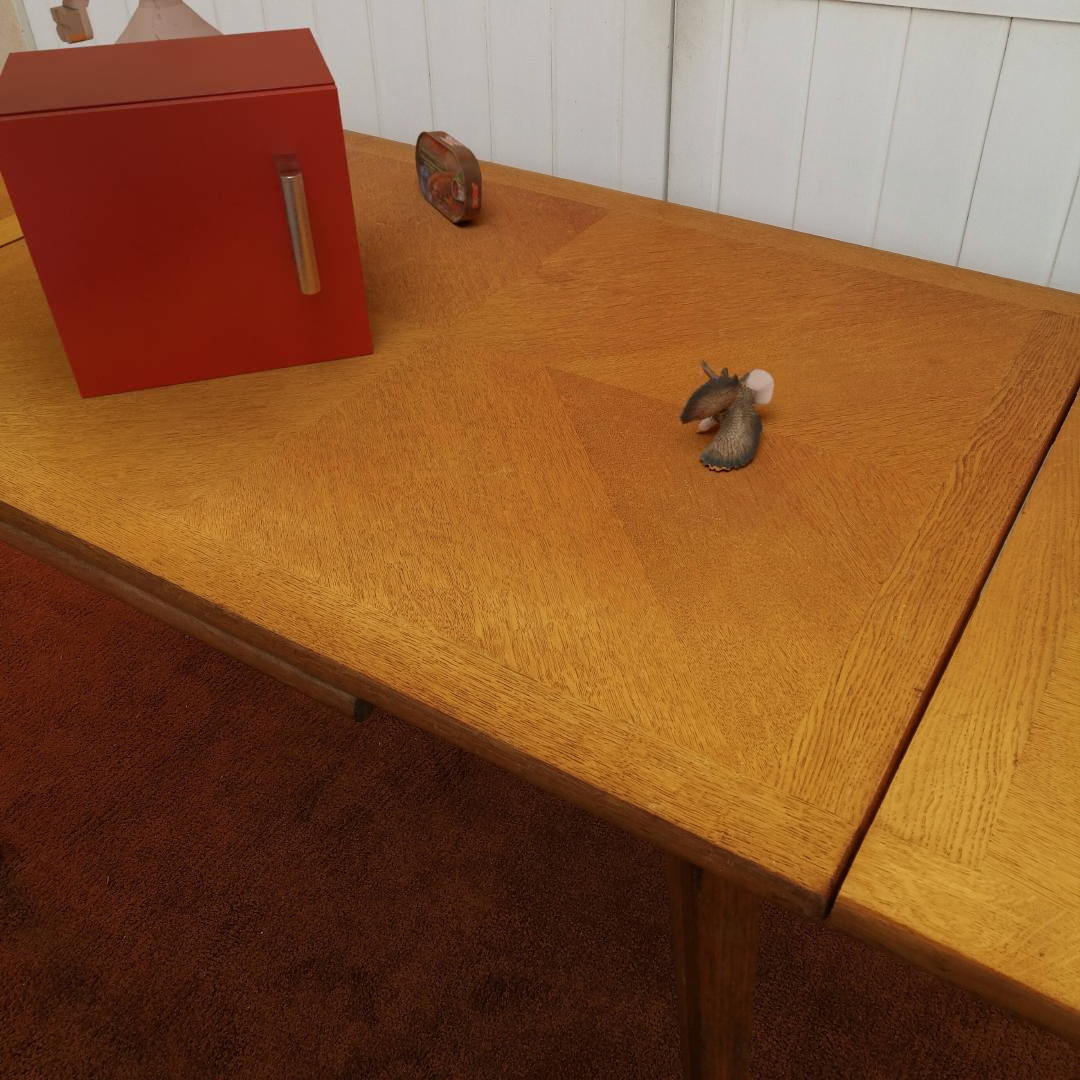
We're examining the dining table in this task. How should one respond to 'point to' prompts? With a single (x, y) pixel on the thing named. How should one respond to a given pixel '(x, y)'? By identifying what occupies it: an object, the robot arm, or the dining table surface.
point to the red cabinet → (160, 71)
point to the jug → (165, 22)
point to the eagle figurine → (729, 414)
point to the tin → (449, 176)
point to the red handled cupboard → (191, 235)
